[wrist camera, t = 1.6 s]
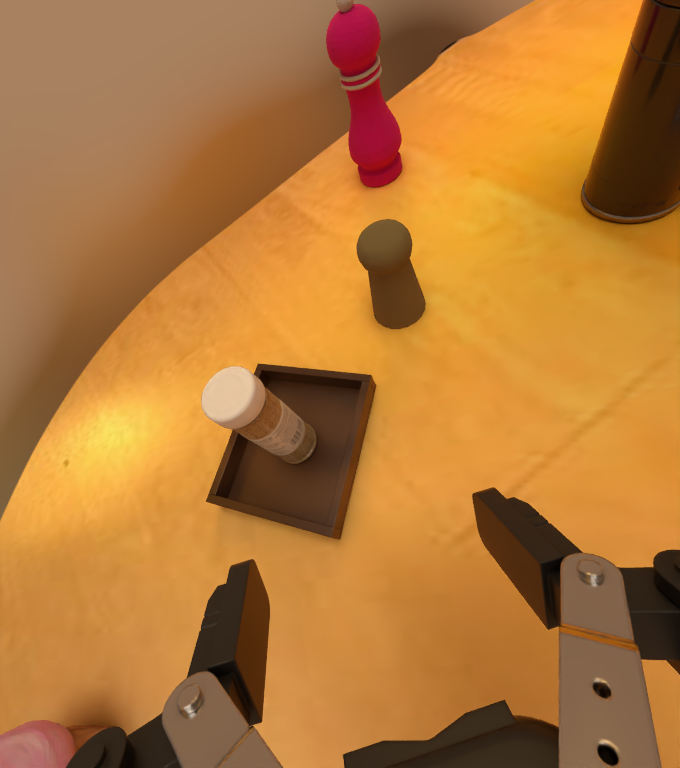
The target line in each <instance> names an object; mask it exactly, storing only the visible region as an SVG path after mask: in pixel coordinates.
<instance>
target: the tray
mask: <svg viewBox="0 0 680 768" xmlns="http://www.w3.org/2000/svg"><path fill="white" fill-rule="evenodd" d="M254 375H255V376H256V377H257V378H259V379H260V380H261V382H262V383H263V385H264V387H265V388H266V389H268V390H269V391H270V392H271V393H272V394H273V395H275V396H276V397H277V398H278V399H280V400H281V401H282V402H283V403H284V404H285V405H286V406H288V407H289V408H290V409H291V410H292V411H293V412H294V413H295V414H296V415H298V416H299V417H300V418H301V419H302V420H303V421H304V422H305V423H307V424H309V425H310V426H311V427H312V428H313V429H314V431H315V434H316V437H317V441H316V447H315V450H314V452H313V453H312V455H311V456H310V457H309V458H308V459H307V460H305V461H303V462H301V463H298V464H291V463H287V462H286V461H284V460H282V459H281V457H279V456H277V455H275V454H273V453H271V452H269V451H267V450H266V449H264V448H262V447H261V446H259V445H257V444H255V443H254V442H252V441H250V440H248V439H247V438H245V437H243V436H242V435H241V434H239V433H238V432H236V431H234V430H233V431H232V434H231V436H230V439H229V442H228V444H227V447H226V450H225V452H224V455H223V458H222V460H221V463H220V466H219V468H218V471H217V474H216V476H215V479H214V481H213V484H212V487H211V489H210V492H209V495H208V497H207V500H206V502H209V503H212V504H216V505H219V506H223V507H226V508H230V509H233V510H237V511H240V512H244V513H247V514H251V515H254V516H258V517H261V518H265V519H268V520H272V521H275V522H279V523H282V524H286V525H289V526H293V527H296V528H300V529H303V530H307V531H310V532H314V533H317V534H321V535H324V536H328V537H331V538H336V539H340V537H341V533H342V529H343V524H344V520H345V516H346V512H347V507H348V503H349V499H350V495H351V490H352V486H353V482H354V478H355V473H356V469H357V465H358V461H359V456H360V452H361V448H362V444H363V439H364V435H365V431H366V427H367V422H368V418H369V414H370V410H371V405H372V401H373V397H374V393H375V388H376V384H375V382H374V380H373V378H372V376H371V375H366V374H356V373H346V372H336V371H326V370H316V369H307V368H297V367H287V366H277V365H267V364H258V365H257V368H256V370H255V373H254Z"/></svg>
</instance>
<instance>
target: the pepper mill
mask: <svg viewBox="0 0 680 768" xmlns="http://www.w3.org/2000/svg"><path fill="white" fill-rule="evenodd" d="M336 3H337V7H338V9H339V10H340V11H339V12H337V13H336V14H335V16H334V17H333V19H332V20H331V21H330V24H329V26H328V30H327V36H326V44H327V51H328V54H329V57H330V59H331V61H332V63H333V64H334V65H335V66H336V67H338V68H339V72H338V76H339V78H340V80H341V87H342V88H343V89H345V90H346V92H347V94H348V98H349V102H350V108H351V124H350V130H349V150H350V155H351V158H352V159H353V161H354V162H355V163H356V164H358V172H359V175H360V179H361V181H362V183H363V184H364V185H367V186H370V187H379V186H383V185H386V184H388V183H390V182H392V181H393V180H395V179H396V178H397V177H398V176H399V174H400V172H401V170H402V162H401V156H400V153H399V152H398V150H399V148H400V145H401V133H400V129H399V126H398V123H397V121H396V119H395V117H394V116H393V114H392V113H391V111H390V110H389V108H388V106H387V105H386V103H385V101H384V99H383V96H382V93H381V88H380V83H379V76H380V74H381V71H382V69H381V66H380V57H379V56H378V55H377V54H376V52H377V50H378V48H379V44H380V28H379V24H378V21H377V18H376V16H375V15H374V13H373V12H372V11H371V10H370V9H369V8H368V7H366V6H364V5H361V4H353V0H336Z"/></svg>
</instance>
